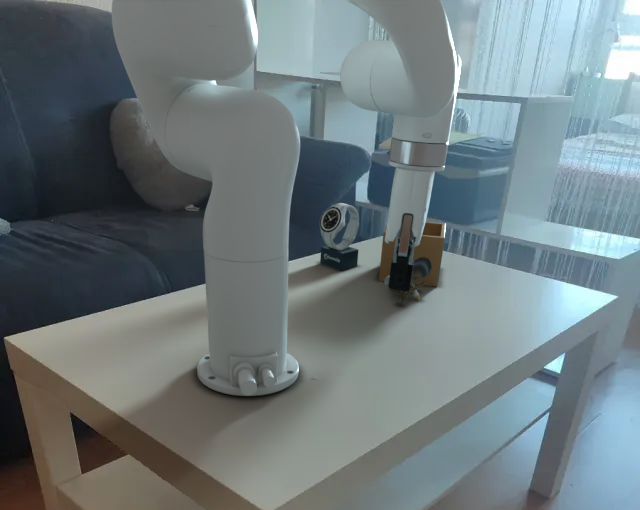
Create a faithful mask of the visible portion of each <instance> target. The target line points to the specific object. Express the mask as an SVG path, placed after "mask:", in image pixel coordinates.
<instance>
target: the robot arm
mask: <svg viewBox="0 0 640 510" xmlns="http://www.w3.org/2000/svg"><path fill="white" fill-rule="evenodd" d="M346 1H347V2H349V3H350V4H352V5H354V6H355V7H357V8H358V9H360V10H361V11H364V12H365V13H366V14H367V15H368V16H370V17H371V18H372V19H373V20H374V21H375V22H376V23H377V24H378V25H379V26H380V27H381V28H382V29H383V30H384V32H385V33H386V34H387V36H388V37H389V38H390V40H382V39H371V40H366V41H362V42H361V43H358V44H357V45H355V46H353V48H351V49H350V50H349V51H348V52H347V54H346V56H345V57H344V59H343V60H342V63H341V67H340V73H339V74H340V76H339V78H340V79H339V80H340V81H339V83H340V86H341V90H342V92H343V94H344V95H345V97H346V98H347V100H349V102H351V103H352V104H353V105H355V106H356V107H358V108H360V109H362V110H366V111H371V112H376V113H377V112H378V113H384V114H393V123H392V132H391V140H390V148H389V157H388V165H389V166H391V167H394V168H395V169H394V173H393V181H392V185H391V192H390V193H391V194H390V198H389V199H390V200H389V206H388V214H387V221H386V222H387V223H386V225H387V228H386V227H385V228H386V235H385V242H386V243H387V244H389V242H390V241H392V242H393V240H394V239H395V237H396V241H395V249H394V257H393V259H392V262H391V269H390V277H389V284H388V287H387V288H388V289H389V290H392V291H393V290H394V291H399V290H400V291H409V290H410V286H411V280H412V273H413V266H414V262H412V261H413V256H414V249H415V247H416V246H418V245H419V243H420V240H421V237H422V234H423V230H424V226H425V222H427V218H428V213H429V208H430V202H431V197H432V190H433V186H434V179H435V173H436V172H442V171H445V167H446V161H447V155H448V149H449V148H448V147H449V142H450V138H451V137H450V135H451V130H452V124H453V118H454V112H455V105H456V99H457V95H458V88H459V81H460V75H461V67H462V59H461V56H460V55H459V53H458V51H457V52H456V50H455V45H454V39H453V36H452V31H451V28H450V24H449V20H448V16H447V13H446V9H445V7H444V5H443V3H442V0H346ZM111 25H112V32H113V38H114V41H115V44H116V45H115V46H116V48H117V51H118V53H119V56H120V58H121V61H122V64H123V66H124V69H125V71H126V74H127V76H128V79H129V81H130V83H131V86H132V89H133V92H134V94H135V97H136V99H137V101H138V103H139V106H140V108H141V111H142V113H143V116H144V118H145V120H146V122H147V125H148V127H149V130H150V133H151V134H152V137H153V139H154V141H155V143H156V145H157V147H158V149H159V150H160V152H161V153H162V155H163V157H164V158H165V159H166V160H167V161H168V162H169V164H171V165H172V166H173V167H174V168H176V169H177V170H178V171H181V172H182V173H185V174H187V175H190V176H192V177H194V178H195V177H196V178H198V179H202V180H205V181H209V182H211V183H212V184H211V190H210V195H209V198H208V201H207V204H206V207H205V210H204V215H203V221H202V244H203V245H202V248H203V258H204V259H203V260H204V261H203V262H204V263H203V264H204V278H205V279H204V281H205V299H206V300H205V301H206V319H207V333H208V335H207V337H208V339H207V340H208V353H206V354H204V355H203V356H202V357H201V358H200V359H199V360H198V362H197V365H196V370H197V377H198V380H199V381H200V382H201V383H202V384H203V385H204V386H206V387H207V388H209V389H211V390H213V391H215V392H218V393H222V394H226V395H231V396H238V397H239V396H240V397H257V396H264V395H265V396H266V395H270V394H274V393H277V392H280V391H283V390H285V389H287V388H289V387H290V386H291V385H292V384H294V383H295V382H296V380H297V379H298V377H299V374H300V373H299V369H300V366H299V361H298V360H297V359H296V358H295V357H294V356H293V355H292V354H290V353H289V352H288V306H289V305H288V303H289V301H288V300H289V299H288V298H289V256H290V255H289V253H290V252H289V243H290V242H289V240H290V239H289V237H290V235H289V234H290V216H291V204H292V198H293V197H292V196H293V190H294V185H295V180H296V175H297V171H298V166H299V160H300V154H301V135H300V130H299V128H298V124H297V122H296V121H297V120H296V119H295V117H294V115H293V113H292V112H291V111H290V109H289V108H287V106H286V105H285V104H284V103H283V102H281V100H279V99H278V98H276V97H275V96H273V95H270V94H268V93H266V92H264V91H260V90H256V89H253V88H247V87H238V86H231V85H218V84H217V81H227V80H232V79H234V78H237V77H238V76H241V75H242V74H244V73H245V72H246V71H247V70H248V69H249V68H250V67H251V65H252V64H253V62H254V60H255V58H256V54H257V50H258V43H259V34H258V33H259V31H258V26H257V20H256V14H255V11H254V7H253V3H252V0H112V2H111Z"/></svg>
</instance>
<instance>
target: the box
mask: <svg viewBox="0 0 640 510" xmlns="http://www.w3.org/2000/svg"><path fill="white" fill-rule="evenodd" d="M446 226H447V223H445V222H434V221H426V222H425V226H424V230H423V234H422V237H421V240H420V243H419V245H418V246H416V247H415V249H414V256H413V261H414V260H416V259H418V258H420V257H425V258H429V260H430V262H431V265H432V268H431V271H430V274H429V275H428V276H427V277H424V278H422V279H421V280H418V281H416V282H415V284H414V285H420V284H421V283H422V282H424V285H423V286H426V287H427V286H429V287H438V286H439V279H440V273H441V267H442V259H443V253H444V245H445V239H446V228H447V227H446ZM386 228H387V224H386V225H385V228H384V230H383V234H382V245H381V255H380V265H379V275H378V281H379V282H384V280H385V278H386V277H387V276H389V275H390V269H391V262H392V259H393V257H394V249H395V241H396V237H395V239H394V240H393V242H392V241H390V242H389V244H387V243H386V242H385V235H386Z"/></svg>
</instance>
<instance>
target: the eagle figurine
mask: <svg viewBox="0 0 640 510" xmlns="http://www.w3.org/2000/svg"><path fill="white" fill-rule="evenodd" d="M412 262H414V266H413V273H412V280H411V286H410V290H409V291H400V290H394V291H393V292H394V294H397V295H398V296H399V300H398V306H401V305H402V304H403V303H404V302H405V301H406V300H407V298H409V297H408V296H409V295H411V296H412V297H413V298H415V299H417V300H418V302H419V301H420V293H419V292H418V290H419V289H421V288H422V287H423V286H425V285H424V282H422V283H421V284H420V285H418V284H415V282H416V281H418V280H421V279H422V278H424V277H427V276H428V275H429V274H430V271H431V268H432V265H431V262H430V260H429V258H425V257H420V258H418V259H416V260H414V261H412ZM389 277H390V275H389V276H387V277H386V278H385V280H384V281H383V282H384V286H385V287H387V288H388V284H389Z"/></svg>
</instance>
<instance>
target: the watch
mask: <svg viewBox="0 0 640 510" xmlns="http://www.w3.org/2000/svg"><path fill="white" fill-rule="evenodd" d="M347 211H348V214H349V222H347V225H346V222H345V221H346V214H347ZM344 227H346V229H345V231H344V233H343V236H342V240H341V241H340V242H339V243H338V242H335V241H334V240H335V239H336V238H337V235H338V234H339V232H340V231H342V229H343V228H344ZM359 227H360V214H359V211H358V210H357V208H356V207H355V206H354V205H351V204H347V203H343V202H337V203H334V204H332V205H331V206H329V207H328V208H326V209H325V210H324V211H323V212H322V214H321V215H320V218H319V228H320V235H321V237H322V240H323V243H324V244H325V245H323V246H321V247H320V263H319V264H322V265H325V266H327V267H330V268H333V269H336V270H339V271H345V270H349V269H352V268H355V267H358V261H359V249H358V248H355V247H351V246H350V245H352V244H353V243H354V241H355V239H356V238H357V237H356V236H357V234H358V231H359Z"/></svg>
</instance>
